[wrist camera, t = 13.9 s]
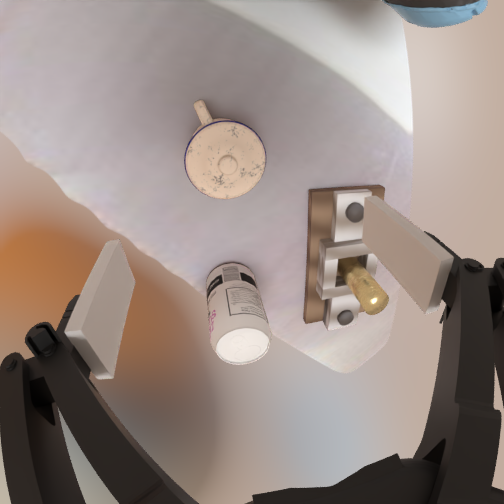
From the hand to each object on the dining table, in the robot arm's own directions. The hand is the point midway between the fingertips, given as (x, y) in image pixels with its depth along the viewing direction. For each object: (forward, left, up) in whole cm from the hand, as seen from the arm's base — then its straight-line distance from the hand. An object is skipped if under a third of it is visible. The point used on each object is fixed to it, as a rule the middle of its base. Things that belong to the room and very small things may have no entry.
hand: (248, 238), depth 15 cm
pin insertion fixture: (+3, +28, -28) cm, 40 cm away
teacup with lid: (-1, -1, -28) cm, 28 cm away
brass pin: (+3, +28, -26) cm, 39 cm away
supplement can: (+17, +14, -28) cm, 36 cm away
